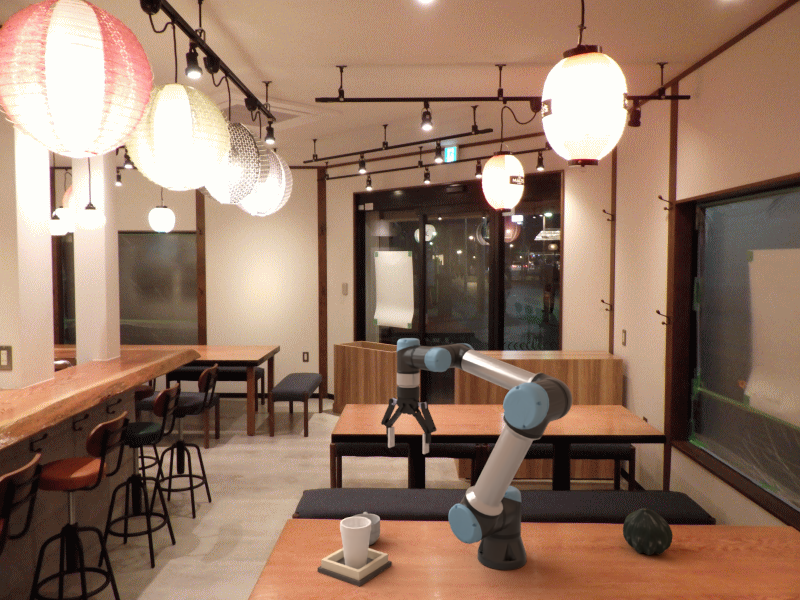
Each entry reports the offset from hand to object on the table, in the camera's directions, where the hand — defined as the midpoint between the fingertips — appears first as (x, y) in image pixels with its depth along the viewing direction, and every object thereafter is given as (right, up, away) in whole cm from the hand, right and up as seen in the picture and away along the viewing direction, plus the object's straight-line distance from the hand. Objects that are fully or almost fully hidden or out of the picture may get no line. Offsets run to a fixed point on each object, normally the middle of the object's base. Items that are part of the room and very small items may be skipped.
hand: (408, 449), depth 205 cm
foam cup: (-16, -31, -16) cm, 38 cm away
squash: (+78, -32, -3) cm, 84 cm away
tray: (-16, -32, -16) cm, 39 cm away
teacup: (-14, -32, +5) cm, 35 cm away
